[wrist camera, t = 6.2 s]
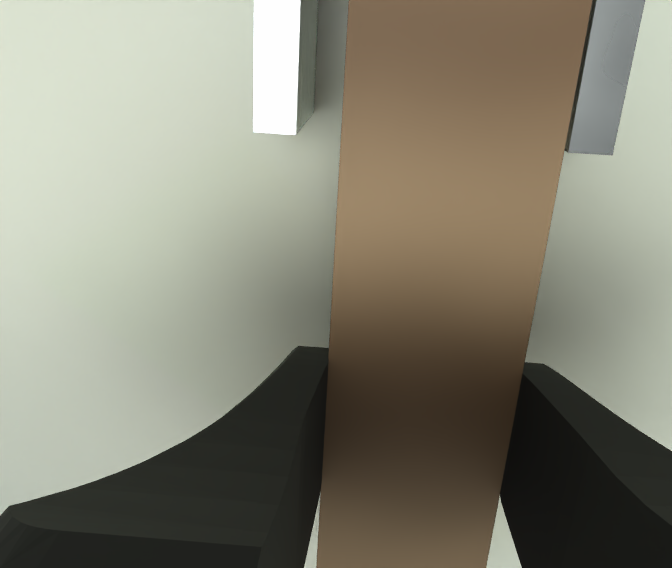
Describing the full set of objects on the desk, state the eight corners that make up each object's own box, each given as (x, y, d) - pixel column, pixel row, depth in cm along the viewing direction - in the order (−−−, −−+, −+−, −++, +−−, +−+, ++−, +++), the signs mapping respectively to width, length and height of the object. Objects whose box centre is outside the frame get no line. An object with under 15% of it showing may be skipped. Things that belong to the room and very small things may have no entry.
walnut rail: (432, 550, 19) (453, 741, 14) (325, 540, 19) (307, 726, 14) (519, -53, 13) (612, -107, 8) (363, -62, 13) (355, -121, 8)
